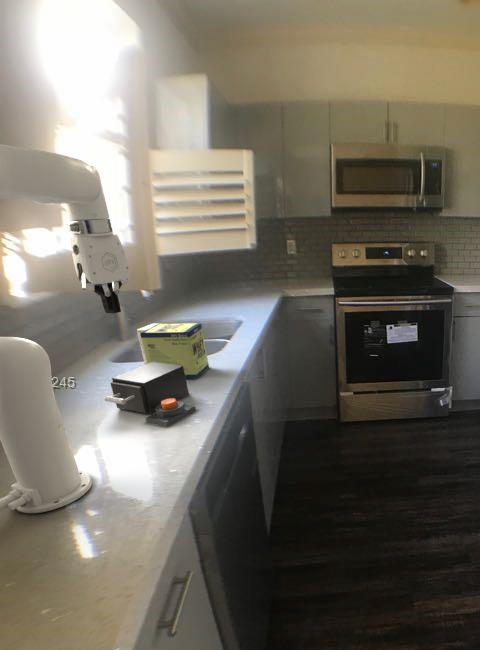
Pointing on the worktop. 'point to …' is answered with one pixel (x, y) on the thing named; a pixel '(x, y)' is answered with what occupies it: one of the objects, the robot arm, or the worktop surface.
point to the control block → (170, 414)
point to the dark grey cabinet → (157, 382)
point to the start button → (169, 403)
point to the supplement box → (141, 339)
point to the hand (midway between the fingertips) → (113, 312)
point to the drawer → (128, 397)
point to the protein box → (177, 347)
